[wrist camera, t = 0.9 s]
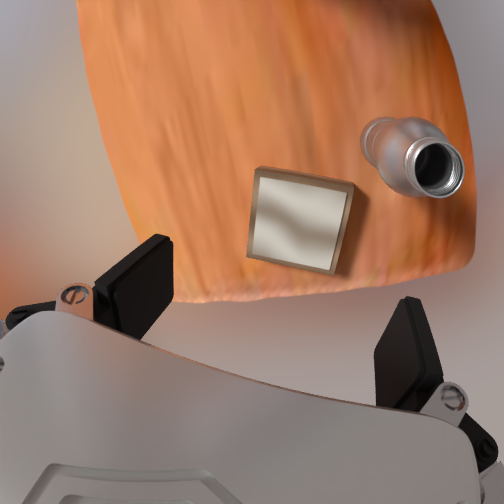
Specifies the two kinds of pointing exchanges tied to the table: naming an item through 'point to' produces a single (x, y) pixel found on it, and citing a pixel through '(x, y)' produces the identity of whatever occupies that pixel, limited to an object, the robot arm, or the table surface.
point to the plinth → (298, 219)
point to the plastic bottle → (413, 156)
